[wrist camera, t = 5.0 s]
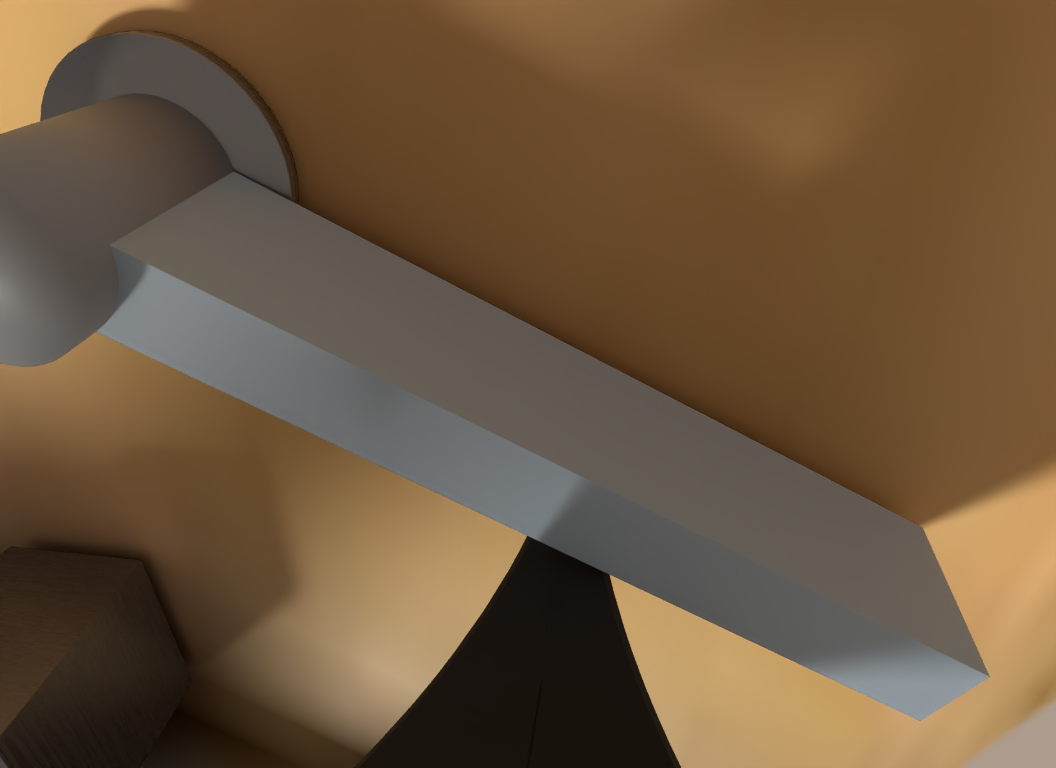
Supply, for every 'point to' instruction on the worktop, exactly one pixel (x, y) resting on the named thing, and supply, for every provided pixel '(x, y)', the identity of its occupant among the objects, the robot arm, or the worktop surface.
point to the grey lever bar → (456, 397)
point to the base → (179, 97)
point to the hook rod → (83, 661)
